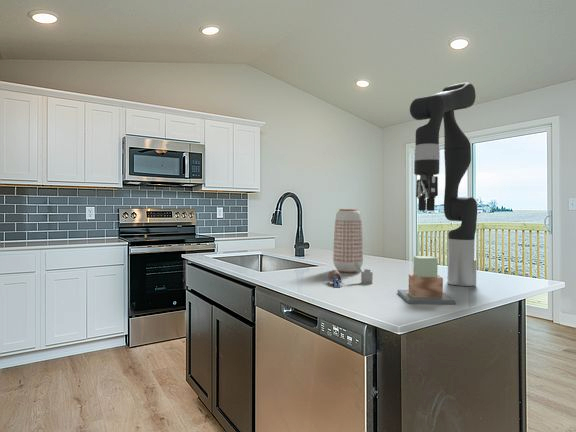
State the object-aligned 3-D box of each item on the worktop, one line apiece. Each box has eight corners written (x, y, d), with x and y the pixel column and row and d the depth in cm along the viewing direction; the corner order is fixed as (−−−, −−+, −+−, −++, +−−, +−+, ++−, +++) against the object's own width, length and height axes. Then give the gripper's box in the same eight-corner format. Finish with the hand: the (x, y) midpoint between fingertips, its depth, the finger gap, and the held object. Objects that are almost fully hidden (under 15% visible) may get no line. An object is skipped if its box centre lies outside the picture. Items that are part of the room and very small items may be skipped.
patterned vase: (343, 274, 167) (344, 209, 166) (327, 270, 179) (328, 209, 178) (368, 272, 172) (369, 209, 172) (351, 268, 184) (352, 209, 184)
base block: (436, 292, 126) (437, 274, 126) (442, 297, 120) (442, 278, 120) (408, 292, 127) (408, 273, 127) (412, 296, 121) (413, 277, 121)
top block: (432, 274, 126) (432, 256, 126) (437, 277, 121) (437, 258, 121) (413, 274, 126) (413, 256, 126) (417, 277, 121) (418, 258, 121)
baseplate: (439, 293, 130) (439, 290, 130) (455, 304, 116) (455, 300, 116) (397, 293, 131) (397, 289, 131) (408, 303, 117) (408, 299, 117)
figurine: (345, 292, 140) (340, 281, 152) (345, 278, 139) (341, 268, 151) (330, 292, 140) (326, 281, 152) (330, 278, 139) (327, 268, 151)
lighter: (372, 282, 149) (372, 262, 149) (372, 283, 148) (372, 262, 148) (353, 281, 151) (354, 261, 151) (353, 282, 150) (353, 261, 149)
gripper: (447, 156, 116) (446, 211, 116) (431, 162, 130) (430, 210, 130) (421, 156, 116) (420, 210, 116) (408, 162, 130) (408, 210, 130)
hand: (426, 210), depth 123 cm, fingers open, 8 cm apart
